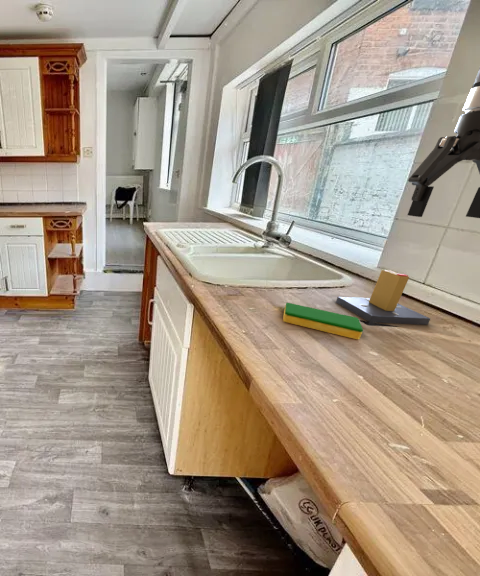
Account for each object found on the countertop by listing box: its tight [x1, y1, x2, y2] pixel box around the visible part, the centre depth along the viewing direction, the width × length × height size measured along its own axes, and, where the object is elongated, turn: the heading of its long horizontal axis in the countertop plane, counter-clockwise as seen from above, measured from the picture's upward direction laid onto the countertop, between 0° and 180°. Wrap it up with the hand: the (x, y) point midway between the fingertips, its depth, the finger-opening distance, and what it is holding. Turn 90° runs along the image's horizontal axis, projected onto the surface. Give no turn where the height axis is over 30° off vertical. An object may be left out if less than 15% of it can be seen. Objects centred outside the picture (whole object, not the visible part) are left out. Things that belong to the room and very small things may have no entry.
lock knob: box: [369, 269, 410, 311], centre depth 72 cm, size 5×2×9 cm, turn 178°
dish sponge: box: [282, 302, 364, 340], centre depth 68 cm, size 7×14×2 cm, turn 58°
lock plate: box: [335, 296, 431, 328], centre depth 74 cm, size 13×11×3 cm
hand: (444, 216), depth 70 cm, fingers open, 13 cm apart
